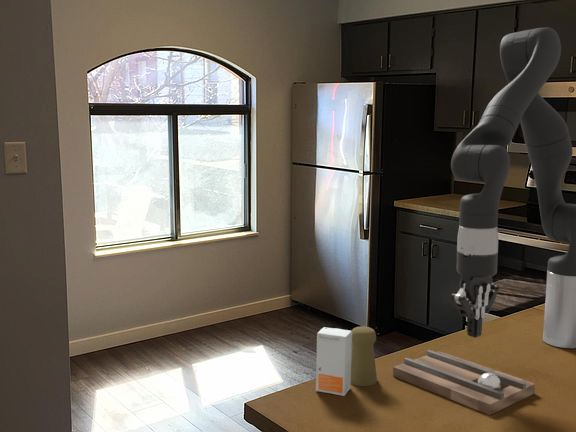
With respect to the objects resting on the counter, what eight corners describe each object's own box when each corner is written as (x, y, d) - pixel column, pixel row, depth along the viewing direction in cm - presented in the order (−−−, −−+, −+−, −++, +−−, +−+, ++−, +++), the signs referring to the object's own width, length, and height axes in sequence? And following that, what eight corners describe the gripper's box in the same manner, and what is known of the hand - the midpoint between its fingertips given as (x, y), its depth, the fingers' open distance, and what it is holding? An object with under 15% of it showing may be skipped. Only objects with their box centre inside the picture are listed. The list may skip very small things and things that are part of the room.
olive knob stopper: (376, 387, 129) (377, 334, 128) (345, 384, 130) (346, 331, 129) (378, 375, 135) (379, 324, 134) (349, 373, 136) (350, 322, 135)
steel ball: (508, 391, 125) (489, 395, 128) (501, 369, 126) (482, 373, 129) (496, 396, 122) (477, 399, 125) (488, 372, 123) (469, 377, 126)
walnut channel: (438, 359, 144) (439, 346, 144) (534, 393, 127) (535, 378, 126) (392, 376, 135) (393, 362, 135) (489, 415, 117) (490, 399, 117)
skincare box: (315, 391, 127) (315, 332, 125) (322, 383, 131) (323, 326, 129) (345, 397, 125) (346, 336, 123) (351, 388, 129) (352, 330, 127)
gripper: (480, 241, 132) (477, 324, 135) (439, 251, 124) (437, 338, 126) (514, 247, 126) (510, 333, 129) (473, 257, 118) (470, 349, 121)
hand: (474, 335), depth 128 cm, fingers closed
